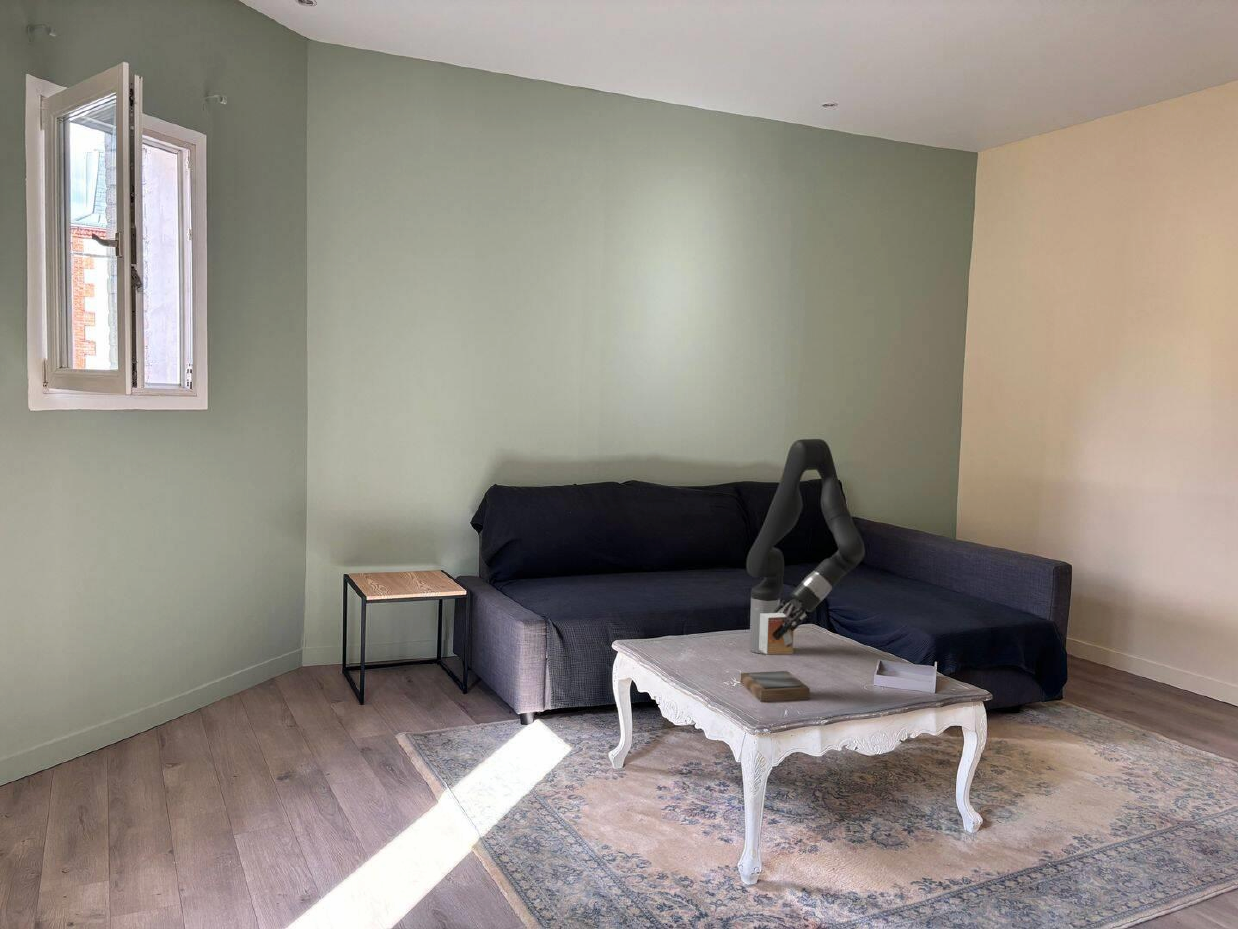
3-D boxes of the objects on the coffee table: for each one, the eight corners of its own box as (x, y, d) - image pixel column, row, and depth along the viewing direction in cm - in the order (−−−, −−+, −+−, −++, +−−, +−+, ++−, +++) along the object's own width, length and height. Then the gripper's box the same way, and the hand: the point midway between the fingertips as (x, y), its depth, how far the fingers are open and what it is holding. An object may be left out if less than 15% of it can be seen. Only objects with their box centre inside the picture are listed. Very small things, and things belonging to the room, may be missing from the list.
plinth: (740, 683, 269) (740, 671, 269) (786, 681, 272) (786, 669, 272) (760, 701, 254) (761, 689, 253) (809, 699, 257) (809, 686, 256)
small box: (766, 655, 258) (767, 617, 257) (758, 650, 264) (759, 613, 263) (793, 653, 260) (794, 616, 260) (784, 648, 266) (785, 611, 265)
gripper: (792, 577, 269) (752, 619, 267) (813, 587, 255) (771, 632, 253) (809, 594, 271) (769, 637, 269) (831, 606, 257) (789, 651, 255)
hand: (770, 634), depth 261 cm, fingers closed on small box, 5 cm apart
